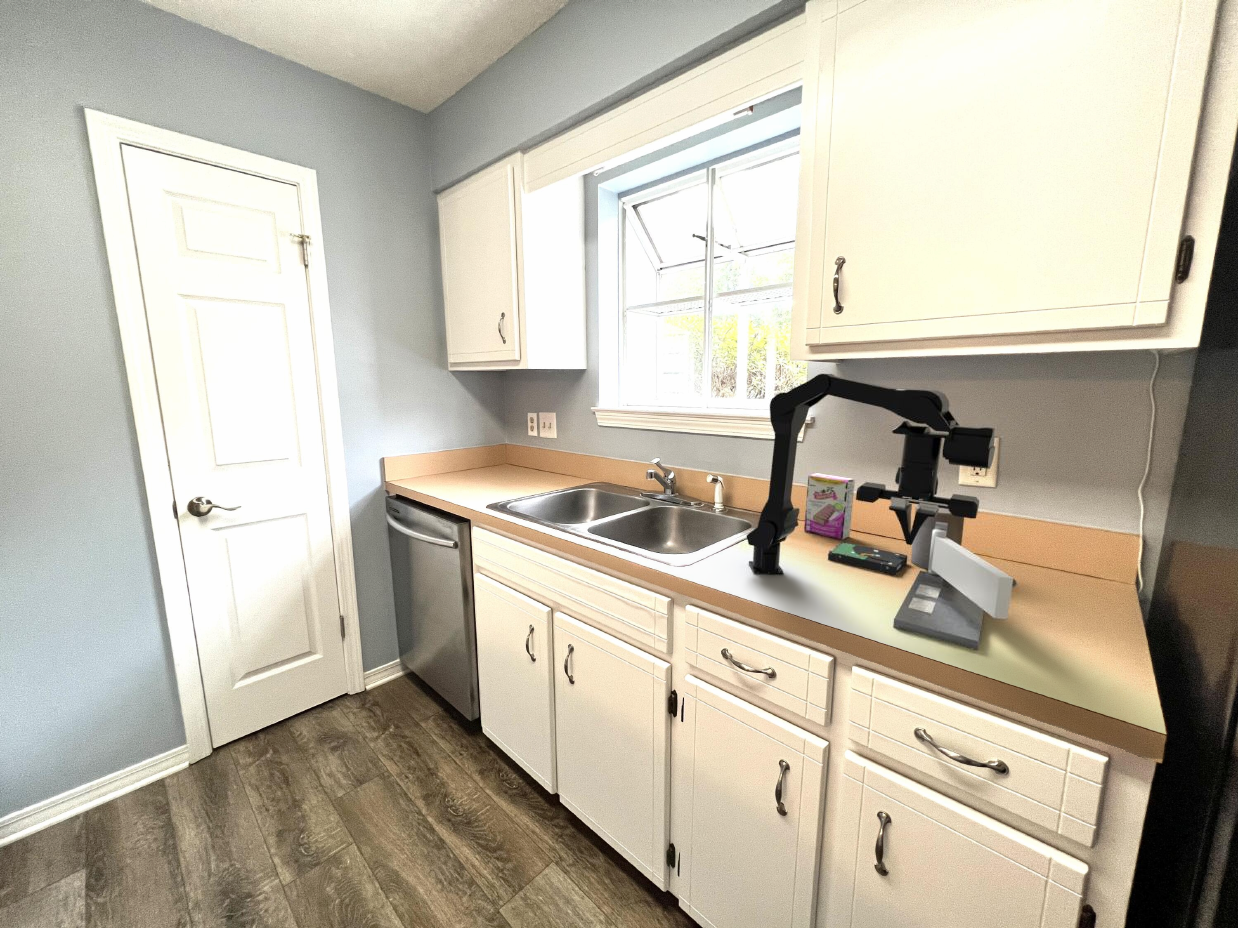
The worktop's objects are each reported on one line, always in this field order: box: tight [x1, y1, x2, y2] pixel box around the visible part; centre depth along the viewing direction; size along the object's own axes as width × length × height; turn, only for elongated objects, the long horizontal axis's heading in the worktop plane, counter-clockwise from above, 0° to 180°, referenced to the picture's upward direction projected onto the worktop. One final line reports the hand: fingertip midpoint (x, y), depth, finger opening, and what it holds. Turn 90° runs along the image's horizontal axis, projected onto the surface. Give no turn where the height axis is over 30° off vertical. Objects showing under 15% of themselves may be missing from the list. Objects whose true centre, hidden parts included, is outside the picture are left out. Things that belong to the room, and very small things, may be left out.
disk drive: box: [827, 541, 908, 577], centre depth 119 cm, size 10×3×15 cm
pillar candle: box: [910, 504, 965, 570], centre depth 116 cm, size 10×10×15 cm
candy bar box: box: [803, 473, 856, 541], centre depth 138 cm, size 11×5×16 cm, turn 43°
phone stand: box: [892, 522, 985, 651], centre depth 94 cm, size 12×29×13 cm, turn 142°
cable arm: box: [927, 529, 1017, 620], centre depth 93 cm, size 24×4×9 cm, turn 172°
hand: (909, 544), depth 92 cm, fingers closed
